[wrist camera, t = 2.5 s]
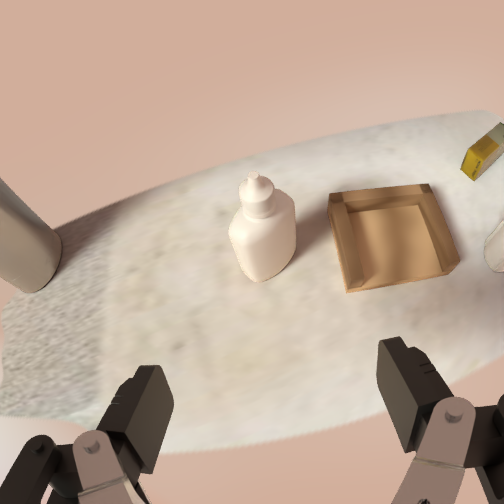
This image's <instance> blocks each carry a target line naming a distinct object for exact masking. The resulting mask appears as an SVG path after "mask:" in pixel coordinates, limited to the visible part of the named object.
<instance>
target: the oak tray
mask: <svg viewBox="0 0 504 504" xmlns="http://www.w3.org/2000/svg"><path fill="white" fill-rule="evenodd" d="M327 212H328V216H329V220H330V224H331V228H332V232H333V236H334V240H335V244H336V248H337V253H338V257H339V262H340V266H341V271H342V275H343V280H344V285H345V290H346V293H350V292H356V291H362V290H368V289H374V288H380V287H385V286H391V285H397V284H402V283H407V282H413V281H418V280H423V279H428V278H433V277H438V276H443V275H448V274H449V273H450V272H451V271H452V270H453V269H454V268H455V267H456V265H457V264H458V263H459V262H460V258H459V256H458V253H457V250H456V247H455V245H454V242H453V239H452V237H451V234H450V232H449V229H448V227H447V224H446V222H445V219H444V217H443V215H442V212H441V210H440V208H439V205H438V203H437V201H436V199H435V196H434V194H433V192H432V190H431V188H430V186H429V184H418V185H406V186H395V187H385V188H375V189H365V190H356V191H347V192H338V193H330V194H329V201H328V211H327Z"/></svg>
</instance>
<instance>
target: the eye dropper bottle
mask: <svg viewBox="0 0 504 504" xmlns="http://www.w3.org/2000/svg"><path fill="white" fill-rule="evenodd" d="M238 192H239V196H240V200H241V204H242V206H241V207H240V208H239V210H238V211H237V212H236V214H235V216H234V217H233V219H232V221H231V224H230V226H229V231H228V233H229V237H230V240H231V243H232V245H233V248H234V250H235V253H236V256H237V258H238V261H239V263H240V266H241V268H242V270H243V272H244V273H245V274H246V275H247V276H248V277H249V278H250V279H251V280H252V281H254V282H256V283H258V282H263V281H265V280H267V279H269V278H271V277H273V276H275V275H276V274H277V273H279V272H280V271H281V270H282V269H283V268H284V267H285V266H286V265H287V264H288V262H289V261H290V260H291V258H292V256H293V254H294V252H295V249H296V221H295V205H294V201H293V200H292V198H291V197H290V196H288V195H287V194H286V193H284V192H283V191H281V190H279V189H274V185H273V183H272V181H271V180H270V179H268V178H266V177H264V176H260V175H259V173H258V172H256V171H251V172H250V173H249V174H248V178H247V179H246V180H244V181H243V182H242V183H241V185H240V187H239V191H238Z"/></svg>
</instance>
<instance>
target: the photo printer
mask: <svg viewBox="0 0 504 504" xmlns="http://www.w3.org/2000/svg"><path fill="white" fill-rule="evenodd" d="M485 245H486V246H485V248H484V255H485V259H486V262H487V264H488V265H489V267H490V268H491V269H493V271H495V272H504V219H503V221H502V222H501V223H500V224H499V226H498V227H497V228H496V229H495V230H494V232H493V233H492V234H491V235H490V236H489V237H488V239H487V240H486V242H485Z"/></svg>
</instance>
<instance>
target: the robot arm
mask: <svg viewBox="0 0 504 504" xmlns="http://www.w3.org/2000/svg"><path fill="white" fill-rule="evenodd" d="M61 251H62V245H61V240H60V238H59V236H58V234H57V233H55V232H54V231H53V230H52V229H51V228H50V227H49V226H48V225H47V224H46V223H45V222H44V221H43V220H42V219H41V218H40V217H38V216H37V214H35V213H34V212H33V211H32V210H31V209H30V208H29V207H28V206H27V205H26V204H25V203H24V202H23V201H22V200H21V199H20V198H19V197H18V196H17V195H16V194H15V193H14V192H13V191H12V190H11V189H10V188H9V186H7V184H6V183H5V182H4V181H3V180H2V179H1V178H0V277H1V278H2V279H4V280H5V281H7V282H9V283H10V284H12V285H13V286H15V287H16V288H18V289H20V290H21V291H23V292H26V293H33V292H36V291H38V290H39V289H41V288H42V287H44V286H45V285H46V284H47V283H48V281H49V280H50V279H51V278H52V276H53V274H54V273H55V271H56V269H57V266H58V264H59V261H60V257H61ZM376 376H377V384H378V388H379V391H380V393H381V395H382V398H383V400H384V402H385V405H386V407H387V410H388V412H389V414H390V417H391V419H392V422H393V424H394V427H395V429H396V431H397V434H398V437H399V439H400V442H401V444H402V447H403V449H404V452H405V453H408V452H411V451H416V456H415V458H414V459H413V461H412V463H411V465H410V467H409V469H408V471H407V474H406V476H405V478H404V480H403V482H402V484H401V486H400V488H399V490H398V492H397V494H396V495H395V497H394V499H393V501H392V503H391V504H454V503H455V500H456V497H457V494H458V492H459V489H460V486H461V482H462V479H463V476H464V472H465V469H466V468H474V467H475V470H476V472H477V475H478V477H479V479H480V482H481V484H482V487H483V489H484V492H485V495H486V497H487V500H488V502H489V504H504V394H503V395H502V396H501V397H500V399H499V402H498V404H497V405H492V406H484V407H474V406H473V405H472V404H471V403H470V402H469V401H468V400H466V399H464V398H460V397H454V395H453V394H452V392H451V391H450V389H449V388H448V386H447V385H446V383H445V382H444V380H443V379H442V377H441V376H440V374H439V373H438V371H436V368H435V367H434V365H433V364H431V361H430V360H429V358H428V357H427V355H426V354H425V353H424V352H422V351H421V350H419V349H417V348H416V347H410V348H408V347H407V346H406V344H405V343H404V341H403V340H402V338H401V337H399V336H398V337H394V338H389V339H384V340H380V341H379V345H378V360H377V373H376ZM173 408H174V400H173V395H172V393H171V390H170V388H169V385H168V383H167V380H166V377H165V375H164V372H163V370H162V368H161V366H159V365H141V366H139V368H138V369H137V371H136V373H135V375H134V377H133V378H129V379H128V380H126V381H125V382H124V383H123V384H122V385H121V386H120V387H119V389H118V391H117V392H116V394H115V397H114V398H113V399H112V401H111V405H109V407H108V408H107V410H106V412H105V414H104V416H103V417H102V419H101V421H100V423H99V425H98V427H97V428H96V430H92V431H87V432H85V433H83V434H81V435H80V436H79V437H78V438H77V439H76V440H75V442H74V444H67V445H56V444H55V443H54V441H53V440H52V439H51V438H50V437H49V436H47V435H38V436H35V437H33V438H31V439H30V440H29V441H27V442H26V444H25V446H24V447H23V449H22V450H21V452H20V454H19V455H18V457H17V459H16V461H15V462H14V464H13V466H12V467H11V469H10V471H9V473H8V474H7V476H6V478H5V480H4V482H3V484H2V485H1V487H0V504H41V499H42V497H43V494H44V492H45V490H46V488H47V486H48V484H49V485H50V486H51V487H52V488H53V490H52V492H51V495H50V497H49V499H48V501H47V504H152V503H151V501H150V499H149V498H148V496H147V494H146V492H145V490H144V488H143V486H142V484H141V482H140V481H139V480H138V479H139V476H140V473H146V474H152V473H153V470H154V467H155V464H156V460H157V457H158V454H159V451H160V448H161V445H162V442H163V439H164V436H165V433H166V430H167V427H168V424H169V421H170V418H171V415H172V412H173Z"/></svg>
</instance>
